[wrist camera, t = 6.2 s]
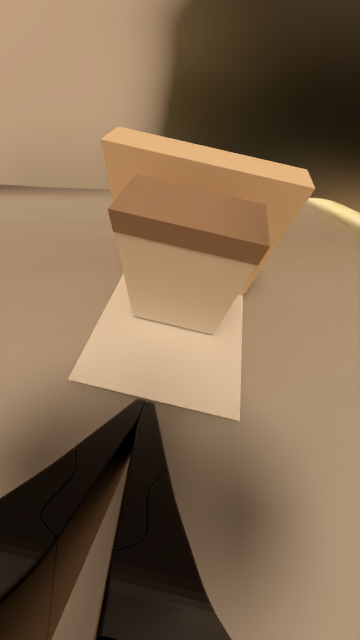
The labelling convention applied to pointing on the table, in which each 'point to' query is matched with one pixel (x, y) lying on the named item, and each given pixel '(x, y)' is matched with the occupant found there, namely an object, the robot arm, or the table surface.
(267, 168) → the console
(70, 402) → the table surface
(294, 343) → the table surface
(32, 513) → the robot arm
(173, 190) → the brown topped beige block
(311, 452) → the table surface
